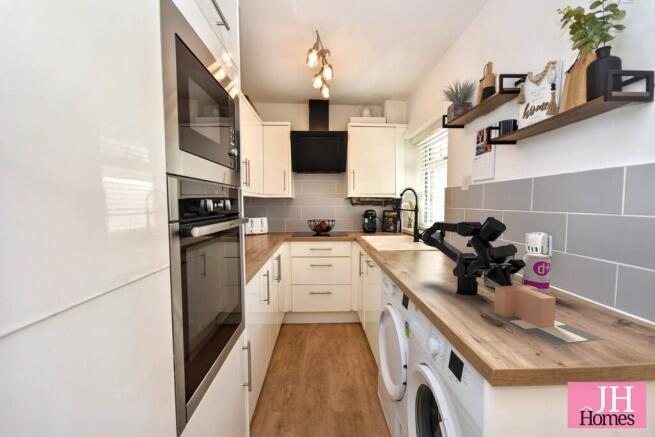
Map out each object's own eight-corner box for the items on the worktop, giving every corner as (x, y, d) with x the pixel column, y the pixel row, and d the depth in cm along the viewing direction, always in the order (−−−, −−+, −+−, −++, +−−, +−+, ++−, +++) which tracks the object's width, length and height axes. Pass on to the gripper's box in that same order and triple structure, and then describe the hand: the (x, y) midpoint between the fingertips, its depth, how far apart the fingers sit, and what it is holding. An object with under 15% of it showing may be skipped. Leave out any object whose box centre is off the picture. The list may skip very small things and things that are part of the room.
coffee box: (514, 289, 109) (516, 249, 108) (503, 291, 106) (505, 250, 106) (492, 283, 117) (494, 246, 117) (482, 284, 115) (483, 247, 114)
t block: (494, 312, 84) (495, 286, 83) (526, 309, 86) (527, 284, 86) (529, 329, 72) (530, 299, 72) (565, 325, 75) (566, 296, 74)
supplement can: (553, 298, 99) (556, 257, 98) (528, 296, 101) (530, 256, 100) (541, 291, 107) (543, 253, 106) (517, 289, 108) (519, 252, 108)
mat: (485, 311, 85) (485, 310, 85) (524, 308, 88) (524, 307, 88) (556, 346, 64) (556, 345, 64) (604, 340, 67) (604, 339, 67)
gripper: (474, 235, 87) (501, 278, 77) (522, 235, 91) (554, 275, 81) (456, 255, 95) (479, 297, 85) (501, 254, 99) (528, 293, 89)
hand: (510, 290), depth 85 cm, fingers closed, pressing on t block
